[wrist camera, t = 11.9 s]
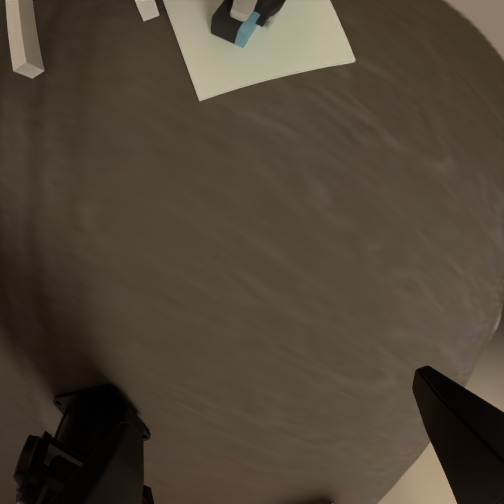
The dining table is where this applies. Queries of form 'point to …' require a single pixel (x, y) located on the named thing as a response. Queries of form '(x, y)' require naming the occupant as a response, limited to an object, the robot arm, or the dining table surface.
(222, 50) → the mat
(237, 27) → the push button
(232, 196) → the dining table surface
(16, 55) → the white u-shaped bracket
